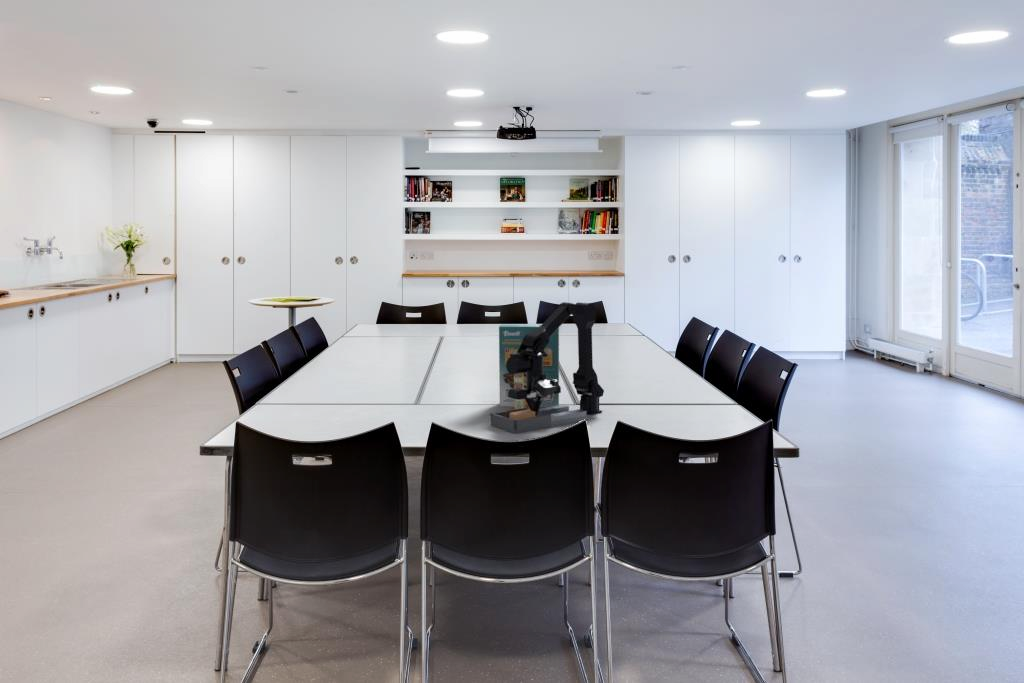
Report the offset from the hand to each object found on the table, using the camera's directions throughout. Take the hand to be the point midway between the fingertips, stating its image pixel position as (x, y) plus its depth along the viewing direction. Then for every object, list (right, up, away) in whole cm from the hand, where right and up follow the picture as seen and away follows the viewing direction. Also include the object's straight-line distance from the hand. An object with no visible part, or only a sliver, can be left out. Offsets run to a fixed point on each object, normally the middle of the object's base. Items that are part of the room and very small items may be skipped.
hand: (534, 415), depth 287 cm
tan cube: (-6, -2, -4) cm, 7 cm away
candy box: (-3, 0, +23) cm, 23 cm away
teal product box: (-1, +1, +30) cm, 30 cm away
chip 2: (-3, -2, -2) cm, 4 cm away
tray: (-5, -3, -3) cm, 7 cm away
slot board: (+8, -2, +6) cm, 10 cm away
